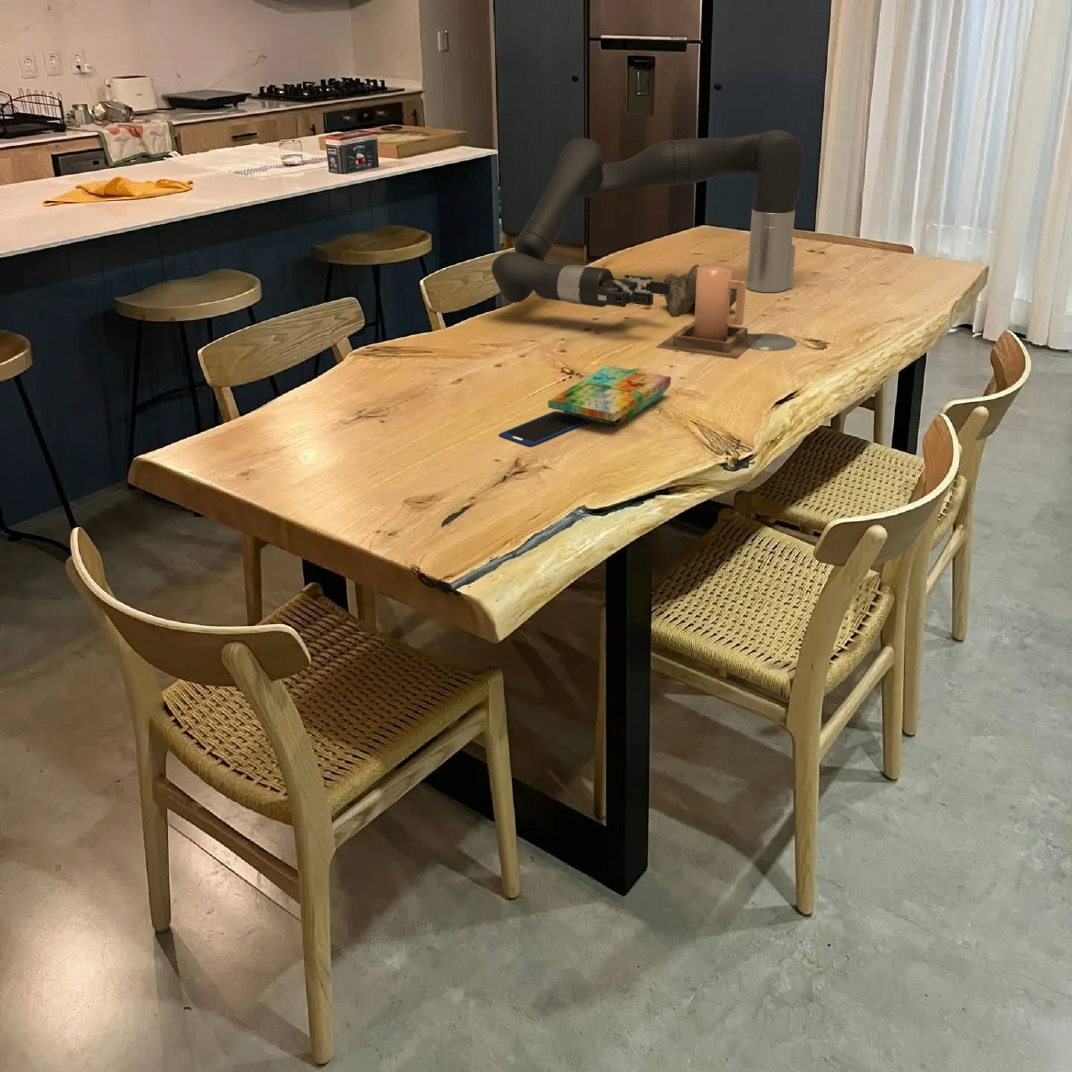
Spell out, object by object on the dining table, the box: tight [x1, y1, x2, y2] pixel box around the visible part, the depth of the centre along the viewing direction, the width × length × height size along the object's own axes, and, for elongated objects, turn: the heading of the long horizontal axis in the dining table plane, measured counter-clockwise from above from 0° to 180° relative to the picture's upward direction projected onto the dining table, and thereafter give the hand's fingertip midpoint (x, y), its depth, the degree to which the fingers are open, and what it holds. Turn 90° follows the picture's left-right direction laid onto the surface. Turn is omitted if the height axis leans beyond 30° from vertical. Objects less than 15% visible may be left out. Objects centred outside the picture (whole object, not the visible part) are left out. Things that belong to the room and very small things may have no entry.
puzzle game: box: [547, 365, 672, 427], centre depth 176 cm, size 12×5×20 cm
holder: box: [655, 321, 761, 360], centre depth 206 cm, size 16×16×2 cm
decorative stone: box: [663, 264, 737, 317], centre depth 224 cm, size 16×11×15 cm
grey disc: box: [740, 332, 798, 352], centre depth 205 cm, size 11×11×1 cm
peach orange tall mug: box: [693, 263, 747, 342], centre depth 202 cm, size 9×6×14 cm
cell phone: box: [498, 410, 589, 448], centre depth 169 cm, size 7×14×1 cm, turn 137°
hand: (661, 294), depth 207 cm, fingers open, 8 cm apart
